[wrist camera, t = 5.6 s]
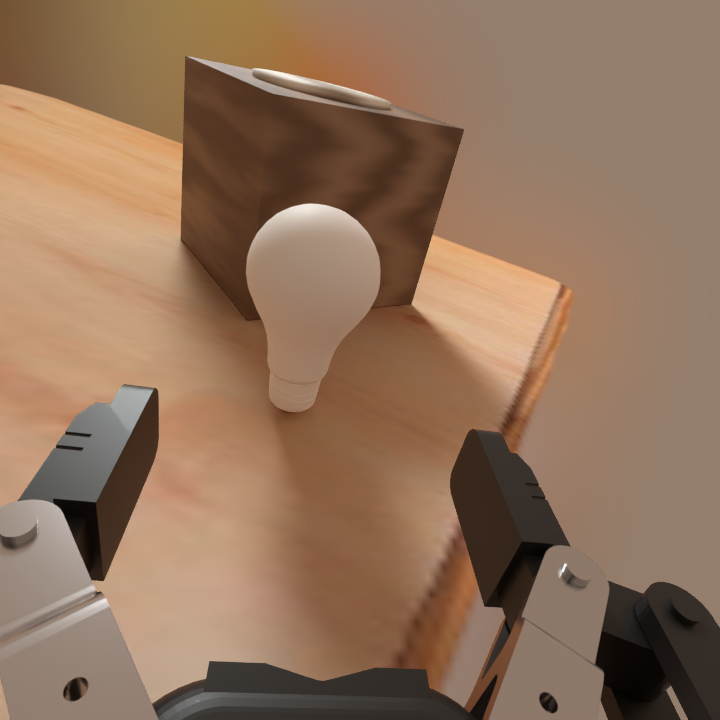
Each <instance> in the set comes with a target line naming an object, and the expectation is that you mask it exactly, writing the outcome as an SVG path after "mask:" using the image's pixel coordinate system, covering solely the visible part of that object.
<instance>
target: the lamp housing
mask: <svg viewBox="0 0 720 720" xmlns="http://www.w3.org/2000/svg"><path fill="white" fill-rule="evenodd" d="M463 131H464V129H462V128H459V127H456V126H453V125H450V124H447V123H444V122H441V121H438V120H435V119H433V118H430V117H427V116H424V115H421V114H418V113H415V112H412V111H409V110H406V109H404V108H401V107H398V106H394V105H392V104H391V103H390V102H389V101H387V100H384V99H382V98H379V97H376V96H373V95H370V94H366V93H363V92H360V91H355V90H352V89H348V88H345V87H341V86H337V85H334V84H330V83H326V82H322V81H317V80H314V79H309V78H305V77H301V76H296V75H292V74H287V73H282V72H276V71H271V70H265V69H258V68H253V70H250V69H246V68H241V67H236V66H231V65H227V64H222V63H217V62H213V61H208V60H203V59H198V58H194V57H188V56H186V57H185V91H184V132H183V169H182V208H181V239H182V240H183V241H184V243H185V244H186V245H187V246H188V248H189V249H190V250H191V251H192V252H193V254H194V255H195V256H196V257H197V259H198V260H199V261H200V262H201V264H202V265H203V266H204V267H205V269H206V270H207V271H208V272H209V273H210V275H211V276H212V277H213V278H214V280H215V281H216V282H217V283H218V285H219V286H220V287H221V288H222V290H223V291H224V292H225V293H226V294H227V296H228V297H229V298H230V299H231V301H232V302H233V303H234V304H235V306H236V307H237V308H238V309H239V311H240V312H241V313H242V314H243V316H244V317H245V318H246V319H247V320H255V319H261V317H260V315H259V313H258V311H257V309H256V307H255V304H254V302H253V299H252V297H251V294H250V291H249V288H248V285H247V277H246V264H247V256H248V252H249V249H250V246H251V244H252V242H253V240H254V238H255V236H256V234H257V233H258V231H259V230H260V229H261V228H262V227H263V226H264V224H265V223H266V222H267V221H268V220H270V219H271V218H272V217H273V216H275V215H276V214H277V213H279V212H281V211H283V210H286V209H288V208H290V207H294V206H298V205H302V204H321V205H327V206H331V207H334V208H337V209H340V210H342V211H344V212H346V213H347V214H349V215H350V216H351V217H353V218H354V219H355V220H357V221H358V222H359V223H360V224H361V225H362V226H363V228H364V229H365V230H366V231H367V232H368V233H369V235H370V237H371V239H372V241H373V242H374V245H375V247H376V250H377V253H378V255H379V260H380V268H381V272H380V287H379V290H378V294H377V297H376V299H375V301H374V303H373V305H372V306H371V308H374V307H384V306H394V305H404V304H411V303H412V300H413V297H414V294H415V290H416V287H417V284H418V280H419V277H420V274H421V270H422V267H423V264H424V261H425V257H426V254H427V251H428V247H429V244H430V241H431V237H432V234H433V231H434V227H435V224H436V221H437V217H438V214H439V211H440V208H441V204H442V201H443V198H444V194H445V191H446V188H447V184H448V181H449V178H450V175H451V171H452V168H453V165H454V161H455V158H456V155H457V151H458V148H459V145H460V142H461V138H462V135H463Z"/></svg>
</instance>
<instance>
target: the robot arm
mask: <svg viewBox="0 0 720 720" xmlns="http://www.w3.org/2000/svg"><path fill="white" fill-rule="evenodd" d="M158 439H159V401H158V390H157V389H156V388H150V387H142V386H134V385H126V384H124V385H123V386H122V387H121V388H120V390H119V391H118V393H117V394H116V396H115V398H114V399H113V401H112V403H111V404H105V403H94V404H93V405H91V406H90V407H88V408H87V409H85V410H84V411H82V412H81V413H79V414H78V415H77V416H76V417H75V418H74V420H73V421H72V423H71V424H70V426H69V427H68V429H67V430H66V433H65V435H63V436H62V437H61V439H60V440H59V442H58V443H57V445H56V448H54V449H53V450H52V452H51V453H50V455H49V456H48V458H47V459H46V461H45V462H44V464H43V465H42V466H41V468H40V469H39V471H38V472H37V474H36V475H35V477H34V478H33V480H32V481H31V482H30V484H29V485H28V487H27V488H26V490H25V491H24V493H23V494H22V495H21V497H20V498H19V500H18V501H17V502H14V503H10V504H7V505H5V506H2V507H0V679H1V683H2V687H3V691H4V695H5V699H6V703H7V707H8V711H9V715H10V720H597V716H598V710H599V704H600V700H601V703H602V705H603V708H604V710H605V713H606V716H607V718H608V720H680V718H679V716H678V714H677V712H676V709H675V707H674V705H673V704H672V702H671V699H670V697H669V695H668V694H667V691H666V690H667V689H668V688H669V687H670V686H672V688H673V690H674V692H675V694H676V696H677V698H678V700H679V702H680V704H681V706H682V708H683V710H684V712H685V714H686V716H687V718H688V720H720V628H719V626H718V625H717V623H716V622H715V620H714V618H713V617H712V615H711V614H710V613H709V611H708V610H707V609H706V608H705V607H704V606H703V604H702V603H700V602H699V601H698V600H697V599H696V598H695V597H694V596H692V595H691V594H690V593H688V592H687V591H685V590H683V589H682V588H680V587H678V586H676V585H673V584H670V583H666V582H656V583H653V584H652V585H650V587H649V588H648V589H647V590H646V591H645V593H644V594H642V593H639V592H637V591H634V590H631V589H629V588H626V587H623V586H621V585H618V584H615V583H612V582H610V581H608V580H607V578H606V576H605V574H604V573H603V571H602V570H601V568H600V567H599V566H598V565H597V564H596V563H595V562H594V561H593V560H592V559H591V558H590V557H588V556H587V555H586V554H584V553H583V552H581V551H579V550H577V549H574V548H572V547H570V545H569V543H568V541H567V539H566V537H565V535H564V533H563V531H562V529H561V527H560V525H559V523H558V521H557V519H556V517H555V515H554V513H553V511H552V509H551V507H550V505H549V503H548V501H547V500H545V495H544V493H543V491H542V489H541V488H540V487H539V484H538V482H537V480H536V478H535V476H534V474H533V472H532V470H531V468H530V467H529V466H528V465H527V464H526V463H525V462H524V461H523V460H522V459H521V458H520V457H519V456H518V455H517V454H515V453H510V451H509V449H508V447H507V445H506V442H505V440H504V438H503V436H502V435H501V434H500V433H498V432H491V431H483V430H475V429H472V430H470V431H469V432H468V434H467V436H466V439H465V441H464V443H463V446H462V448H461V450H460V453H459V455H458V458H457V460H456V462H455V465H454V467H453V470H452V473H451V479H450V490H451V495H452V498H453V502H454V505H455V508H456V512H457V515H458V519H459V522H460V525H461V529H462V532H463V535H464V539H465V542H466V546H467V549H468V552H469V556H470V559H471V563H472V566H473V569H474V573H475V576H476V579H477V583H478V586H479V590H480V593H481V596H482V600H483V603H484V606H485V607H501V608H503V611H504V614H505V618H504V620H503V622H502V624H501V625H500V627H499V630H498V632H497V635H496V637H495V639H494V642H493V644H492V647H491V649H490V652H489V654H488V657H487V659H486V661H485V663H484V666H483V668H482V671H481V673H480V675H479V678H478V680H477V683H476V685H475V687H474V690H473V692H472V694H471V696H470V698H469V700H468V702H467V703H466V705H465V707H464V708H463V707H462V706H461V705H459V704H458V703H457V702H455V701H453V700H452V699H450V698H449V697H447V696H445V695H443V694H441V693H439V692H437V691H435V690H433V689H430V688H429V684H428V678H427V672H426V670H420V669H395V668H373V669H369V670H365V671H361V672H358V673H354V674H350V675H346V676H342V677H339V678H335V679H331V680H327V681H318V680H315V679H311V678H308V677H305V676H302V675H299V674H296V673H293V672H290V671H287V670H284V669H281V668H278V667H275V666H272V665H269V664H266V663H241V662H216V661H209V667H208V672H207V677H206V679H204V680H200V681H196V682H193V683H190V684H188V685H185V686H182V687H180V688H178V689H176V690H174V691H172V692H170V693H168V694H166V695H165V696H163V697H162V698H160V699H159V700H157V701H156V702H154V703H153V704H152V703H151V701H150V699H149V696H148V694H147V692H146V689H145V687H144V685H143V683H142V680H141V678H140V676H139V673H138V671H137V669H136V666H135V664H134V662H133V659H132V657H131V655H130V653H129V650H128V648H127V646H126V643H125V641H124V639H123V636H122V634H121V632H120V629H119V627H118V625H117V623H116V620H115V618H114V616H113V613H112V611H111V609H110V606H109V604H108V602H107V600H106V598H105V596H104V595H103V593H102V592H98V593H97V591H96V590H95V588H94V585H93V583H92V581H91V580H98V581H104V579H105V577H106V575H107V572H108V570H109V567H110V565H111V563H112V560H113V558H114V555H115V553H116V551H117V548H118V546H119V543H120V541H121V539H122V536H123V534H124V532H125V529H126V527H127V524H128V522H129V520H130V517H131V515H132V512H133V510H134V508H135V505H136V503H137V500H138V498H139V496H140V493H141V491H142V488H143V486H144V484H145V481H146V479H147V477H148V474H149V472H150V469H151V467H152V465H153V462H154V459H155V456H156V452H157V447H158Z"/></svg>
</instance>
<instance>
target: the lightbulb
mask: <svg viewBox="0 0 720 720" xmlns="http://www.w3.org/2000/svg"><path fill="white" fill-rule="evenodd" d="M380 272H381V268H380V260H379V255H378V253H377V250H376V247H375V245H374V242H373V241H372V239H371V237H370V235H369V233H368V232H367V231H366V230H365V229H364V228H363V226H362V225H361V224H360V223H359V222H358V221H357V220H355V219H354V218H353V217H351V216H350V215H349V214H347V213H346V212H344V211H342V210H340V209H337V208H334V207H331V206H327V205H321V204H302V205H298V206H294V207H290V208H288V209H286V210H283V211H281V212H279V213H277V214H276V215H275V216H273V217H272V218H271V219H270V220H268V221H267V222H266V223H265V224H264V226H263V227H262V228H261V229H260V230H259V231H258V233H257V234H256V236H255V238H254V240H253V242H252V244H251V246H250V249H249V252H248V256H247V264H246V277H247V285H248V288H249V291H250V294H251V297H252V299H253V302H254V304H255V307H256V309H257V311H258V313H259V315H260V317H261V319H262V321H263V324H264V327H265V331H266V335H267V344H268V356H267V363H268V367H269V369H270V370H271V371H270V380H269V399H270V400H271V402H272V403H273V404H274V405H275V406H276V407H278V408H279V409H281V410H284V411H287V412H302V411H305V410H307V409H309V408H310V407H311V406H312V405H313V404H314V402H315V399H316V396H317V393H318V390H319V386H320V383H321V379H322V378H323V377H324V376H325V375H326V373H327V371H328V368H329V365H330V361H331V359H332V357H333V354H334V352H335V350H336V348H337V347H338V345H339V344H340V342H341V341H342V340H343V338H344V337H345V336H346V335H347V334H348V333H349V332H351V331H352V330H353V329H354V328H355V327H356V326H357V325H358V323H359V322H360V321H361V320H362V319H363V318H364V317H365V315H366V314H367V313H368V312H369V310H370V308H371V306H372V305H373V303H374V301H375V299H376V297H377V294H378V290H379V287H380Z"/></svg>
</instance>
